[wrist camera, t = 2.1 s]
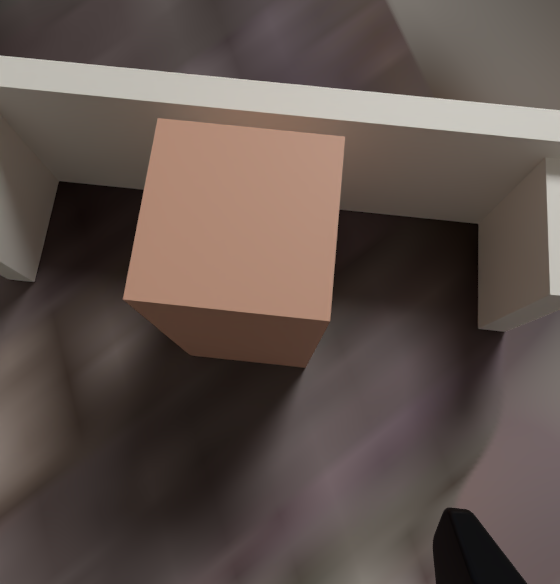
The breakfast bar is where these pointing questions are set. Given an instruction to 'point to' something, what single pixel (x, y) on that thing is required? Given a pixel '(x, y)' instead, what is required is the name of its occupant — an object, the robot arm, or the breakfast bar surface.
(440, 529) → the robot arm
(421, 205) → the bay
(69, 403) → the breakfast bar surface
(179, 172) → the block
